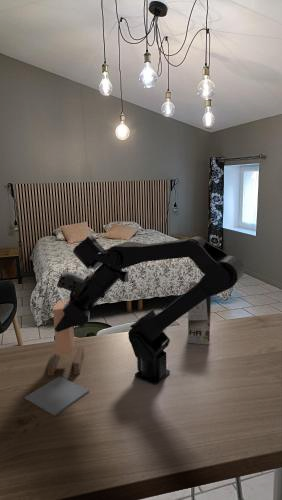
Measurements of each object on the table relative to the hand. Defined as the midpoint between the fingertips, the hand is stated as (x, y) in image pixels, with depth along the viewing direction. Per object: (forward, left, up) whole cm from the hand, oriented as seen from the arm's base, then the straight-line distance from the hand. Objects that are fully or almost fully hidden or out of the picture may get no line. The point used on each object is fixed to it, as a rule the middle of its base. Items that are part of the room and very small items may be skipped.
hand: (58, 325), depth 88 cm
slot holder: (-1, -1, -11) cm, 11 cm away
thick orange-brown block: (-1, -1, -7) cm, 7 cm away
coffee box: (-22, -35, -11) cm, 43 cm away
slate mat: (-9, +9, -11) cm, 17 cm away
